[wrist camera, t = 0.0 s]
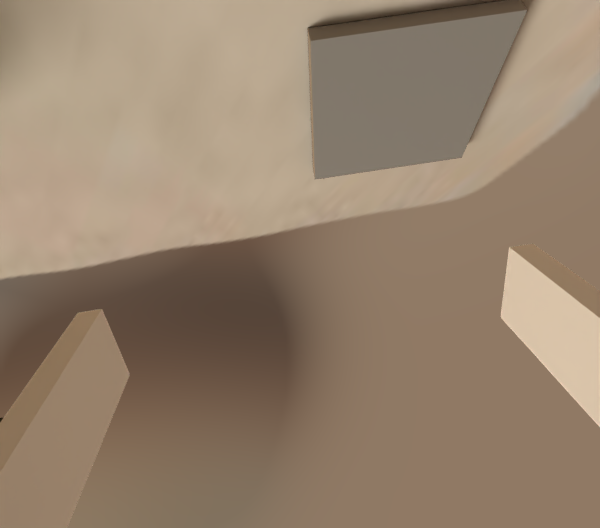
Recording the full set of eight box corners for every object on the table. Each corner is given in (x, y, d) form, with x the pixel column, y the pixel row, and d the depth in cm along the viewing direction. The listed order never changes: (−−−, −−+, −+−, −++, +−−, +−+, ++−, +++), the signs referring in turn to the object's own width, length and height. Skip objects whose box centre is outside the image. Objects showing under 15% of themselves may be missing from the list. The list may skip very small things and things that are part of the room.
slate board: (307, 28, 21) (310, 40, 20) (519, -3, 21) (527, 9, 21) (312, 168, 31) (314, 179, 30) (457, 147, 31) (461, 157, 30)
